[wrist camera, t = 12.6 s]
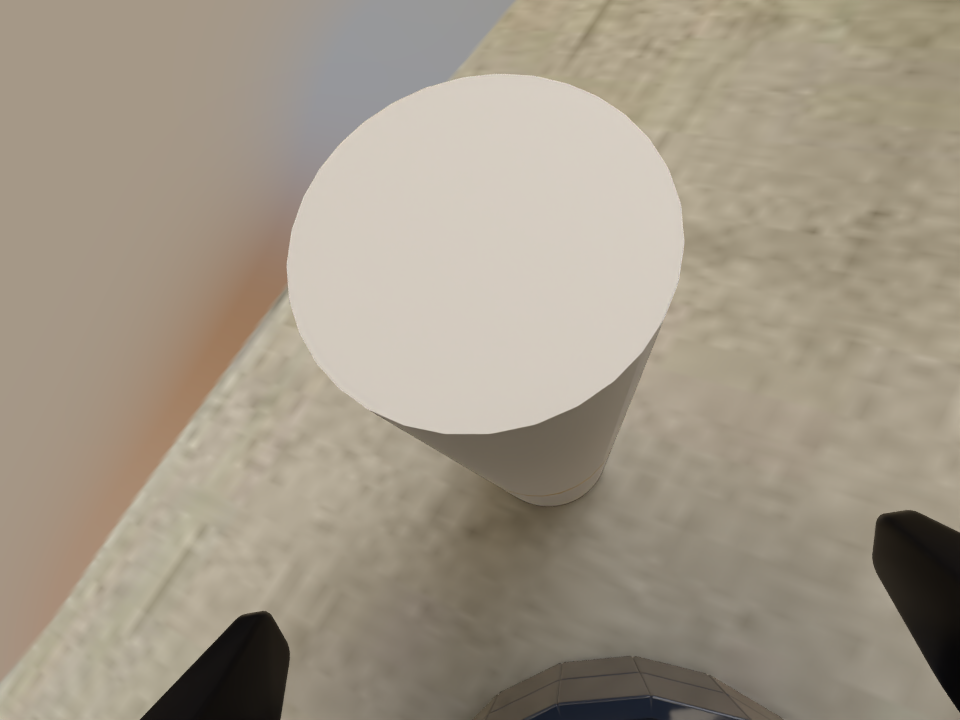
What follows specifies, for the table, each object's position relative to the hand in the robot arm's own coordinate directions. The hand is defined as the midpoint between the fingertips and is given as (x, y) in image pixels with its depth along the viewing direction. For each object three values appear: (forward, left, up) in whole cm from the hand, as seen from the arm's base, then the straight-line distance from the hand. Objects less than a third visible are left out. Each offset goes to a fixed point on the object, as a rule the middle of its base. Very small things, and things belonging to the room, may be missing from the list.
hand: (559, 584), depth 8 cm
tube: (+4, +1, -11) cm, 12 cm away
